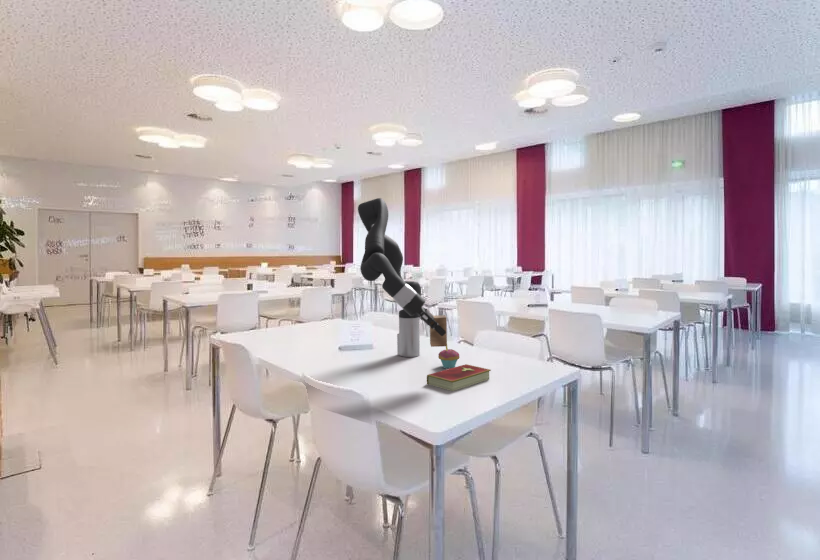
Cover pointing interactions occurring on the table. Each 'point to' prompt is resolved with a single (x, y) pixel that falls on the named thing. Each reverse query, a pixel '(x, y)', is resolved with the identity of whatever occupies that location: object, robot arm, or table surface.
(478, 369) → the hardcover book
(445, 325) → the block
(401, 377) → the table surface
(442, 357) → the cupcake
